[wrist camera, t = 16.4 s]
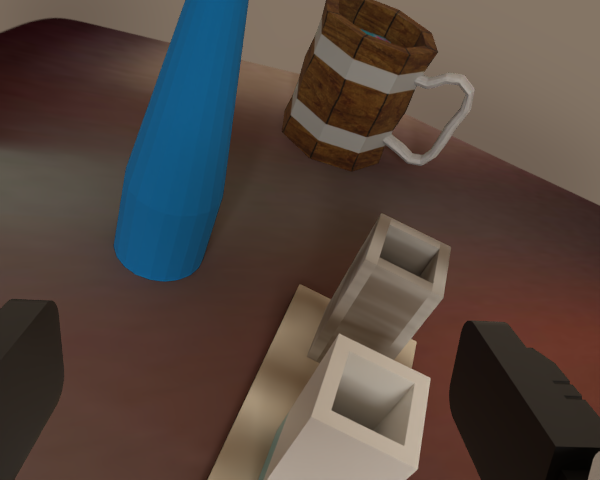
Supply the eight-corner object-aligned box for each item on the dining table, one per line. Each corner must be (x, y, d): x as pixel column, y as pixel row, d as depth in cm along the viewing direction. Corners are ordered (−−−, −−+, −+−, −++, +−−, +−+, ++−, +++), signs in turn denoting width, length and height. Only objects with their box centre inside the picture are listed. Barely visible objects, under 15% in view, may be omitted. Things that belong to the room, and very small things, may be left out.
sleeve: (330, 548, 32) (417, 468, 25) (247, 507, 32) (310, 416, 25) (350, 466, 36) (430, 378, 29) (277, 430, 36) (339, 333, 29)
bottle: (220, 249, 48) (353, -153, 28) (167, 296, 42) (286, -162, 23) (154, 206, 49) (237, -209, 30) (94, 246, 44) (148, -231, 24)
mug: (260, 129, 64) (302, 5, 54) (306, 93, 74) (348, -17, 64) (408, 214, 62) (479, 100, 52) (434, 165, 72) (498, 62, 62)
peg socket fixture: (360, 599, 32) (471, 525, 24) (190, 514, 32) (245, 412, 24) (410, 349, 47) (488, 253, 39) (295, 292, 47) (349, 186, 39)
